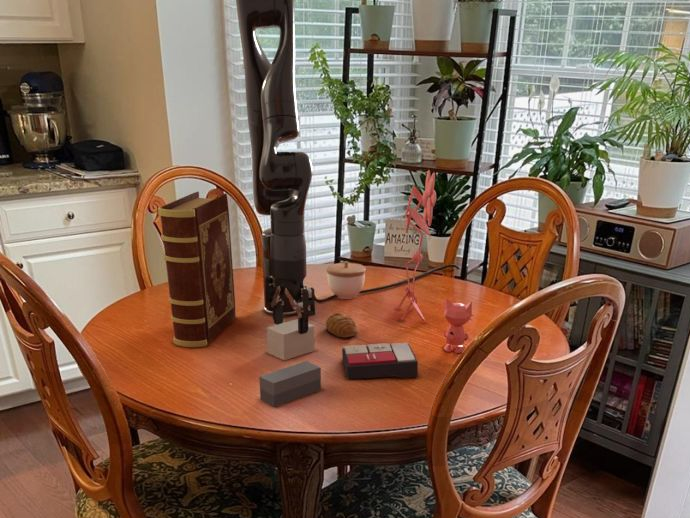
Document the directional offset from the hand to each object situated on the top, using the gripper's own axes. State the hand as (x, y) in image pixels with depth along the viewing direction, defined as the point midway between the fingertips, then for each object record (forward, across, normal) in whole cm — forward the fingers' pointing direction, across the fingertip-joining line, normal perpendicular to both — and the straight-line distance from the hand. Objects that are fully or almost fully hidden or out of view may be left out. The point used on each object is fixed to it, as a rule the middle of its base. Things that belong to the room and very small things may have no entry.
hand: (290, 328), depth 159 cm
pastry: (+6, +2, -18) cm, 19 cm away
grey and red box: (+6, -20, -8) cm, 23 cm away
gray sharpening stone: (+6, -18, +15) cm, 24 cm away
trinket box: (+6, +23, -39) cm, 46 cm away
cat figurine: (+6, -24, -29) cm, 38 cm away
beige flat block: (+2, 0, 0) cm, 2 cm away
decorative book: (+6, +24, +7) cm, 26 cm away
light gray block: (+6, 0, 0) cm, 6 cm away
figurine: (+6, -3, -43) cm, 43 cm away
